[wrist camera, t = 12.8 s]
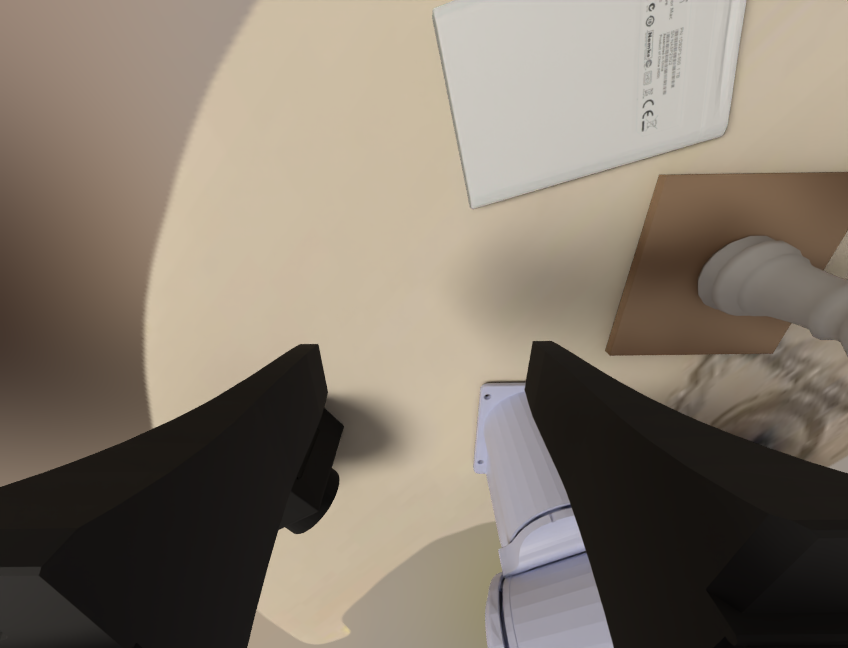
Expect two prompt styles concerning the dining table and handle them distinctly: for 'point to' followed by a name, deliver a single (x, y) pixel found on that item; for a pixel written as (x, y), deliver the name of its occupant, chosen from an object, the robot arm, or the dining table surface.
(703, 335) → the walnut coaster
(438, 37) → the external hard drive
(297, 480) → the digital camera
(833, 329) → the rook chess piece
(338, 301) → the dining table surface
